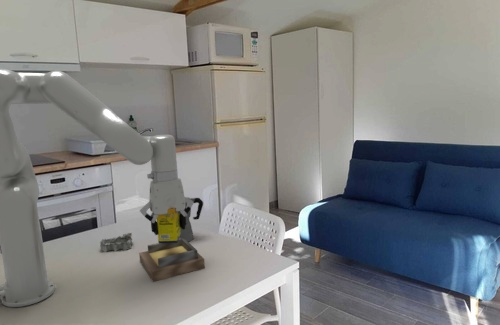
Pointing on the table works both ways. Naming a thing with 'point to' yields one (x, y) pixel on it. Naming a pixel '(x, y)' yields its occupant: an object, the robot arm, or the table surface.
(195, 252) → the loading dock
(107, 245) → the egg carton
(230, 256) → the table surface
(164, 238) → the supplement box
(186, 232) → the coffeepot
